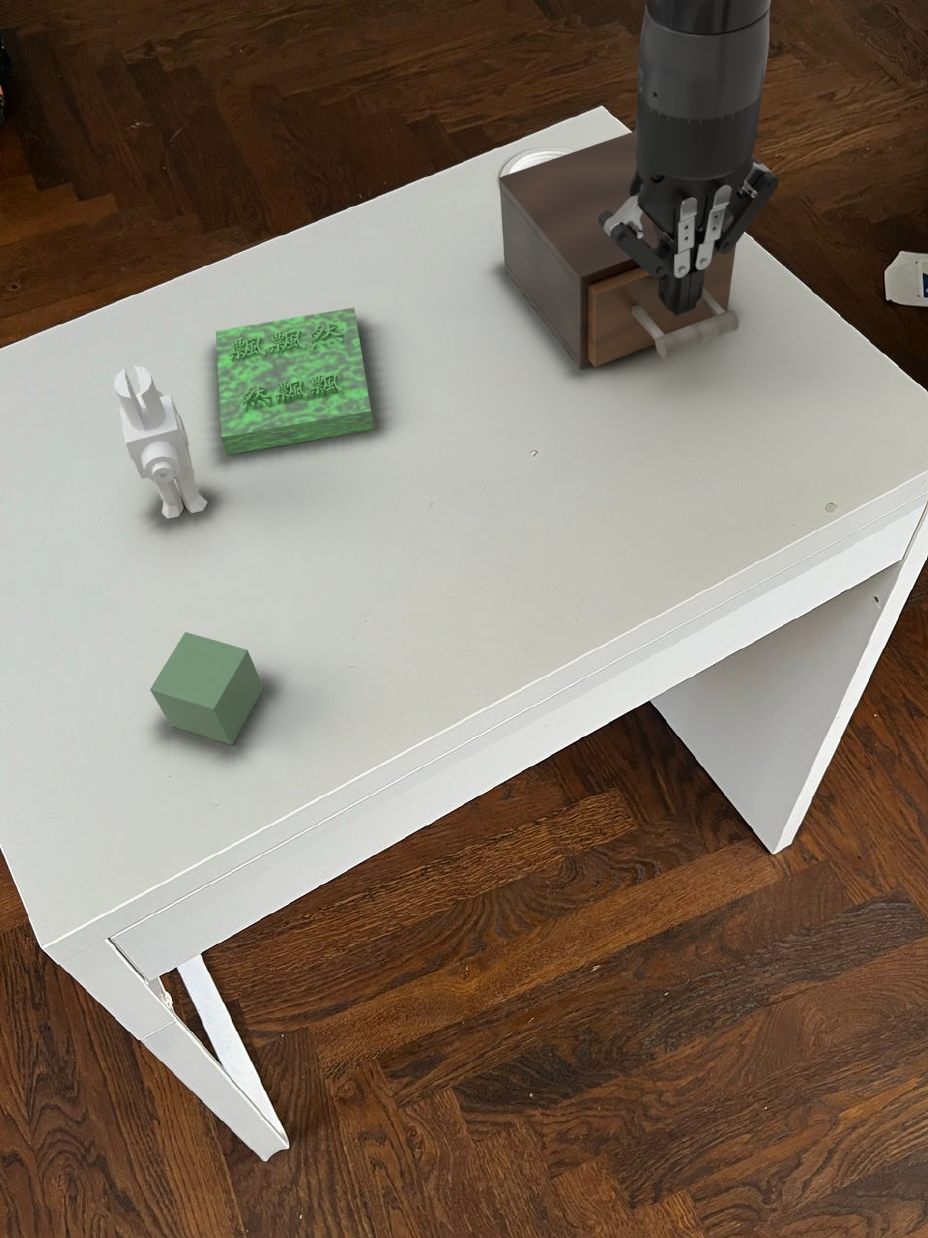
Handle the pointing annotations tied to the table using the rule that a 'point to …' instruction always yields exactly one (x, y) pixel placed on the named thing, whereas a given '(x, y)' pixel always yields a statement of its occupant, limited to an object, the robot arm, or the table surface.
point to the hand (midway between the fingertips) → (679, 306)
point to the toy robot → (158, 442)
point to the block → (208, 688)
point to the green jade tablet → (292, 381)
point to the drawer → (656, 313)
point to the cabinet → (568, 233)
